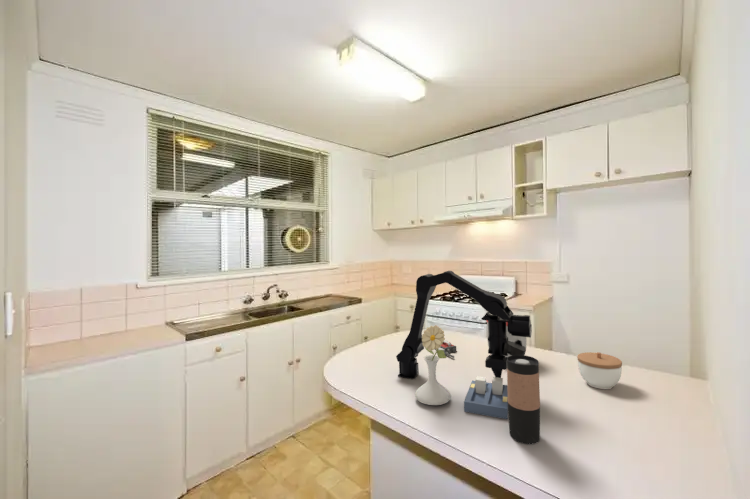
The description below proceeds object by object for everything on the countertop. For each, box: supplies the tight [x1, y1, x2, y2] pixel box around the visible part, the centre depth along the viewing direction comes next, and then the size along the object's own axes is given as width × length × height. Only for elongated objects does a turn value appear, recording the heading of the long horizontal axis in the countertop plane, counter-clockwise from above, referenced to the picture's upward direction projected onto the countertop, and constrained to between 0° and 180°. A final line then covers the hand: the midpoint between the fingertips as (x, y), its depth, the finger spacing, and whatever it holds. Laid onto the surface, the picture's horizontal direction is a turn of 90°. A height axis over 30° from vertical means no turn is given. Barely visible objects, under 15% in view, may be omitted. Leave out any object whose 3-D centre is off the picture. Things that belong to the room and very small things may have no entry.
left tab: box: [474, 375, 487, 394], centre depth 108 cm, size 3×3×4 cm
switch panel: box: [463, 380, 509, 420], centre depth 104 cm, size 12×16×3 cm
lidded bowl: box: [576, 352, 623, 390], centre depth 113 cm, size 13×13×11 cm
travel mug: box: [506, 354, 541, 445], centre depth 86 cm, size 8×8×20 cm
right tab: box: [491, 376, 504, 395], centre depth 107 cm, size 3×3×4 cm
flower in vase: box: [414, 325, 452, 406], centre depth 106 cm, size 13×11×25 cm
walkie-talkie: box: [435, 340, 457, 359], centre depth 153 cm, size 9×4×20 cm
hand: (498, 380), depth 111 cm, fingers closed
